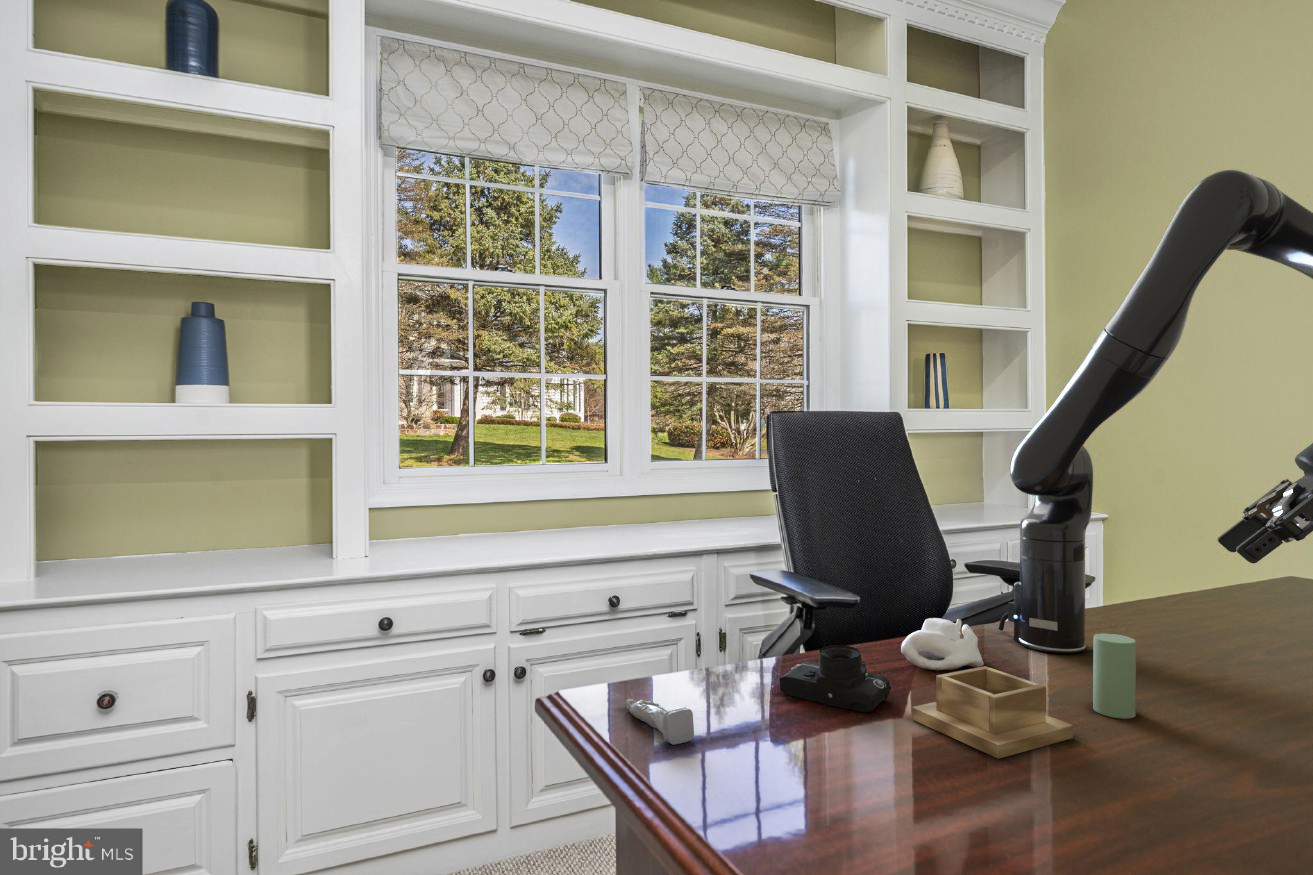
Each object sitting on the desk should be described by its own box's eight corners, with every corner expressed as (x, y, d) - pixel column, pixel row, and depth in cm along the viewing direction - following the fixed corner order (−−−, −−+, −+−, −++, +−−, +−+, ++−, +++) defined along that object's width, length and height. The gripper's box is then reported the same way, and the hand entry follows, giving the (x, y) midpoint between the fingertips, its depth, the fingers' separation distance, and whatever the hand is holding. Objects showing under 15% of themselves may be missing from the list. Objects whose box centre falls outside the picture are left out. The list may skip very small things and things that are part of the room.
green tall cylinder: (1085, 708, 92) (1085, 635, 92) (1107, 703, 94) (1107, 631, 94) (1120, 721, 88) (1121, 644, 88) (1143, 715, 90) (1144, 640, 90)
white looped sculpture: (899, 672, 106) (889, 615, 111) (948, 689, 113) (937, 635, 117) (953, 656, 101) (940, 597, 106) (1001, 675, 107) (987, 619, 112)
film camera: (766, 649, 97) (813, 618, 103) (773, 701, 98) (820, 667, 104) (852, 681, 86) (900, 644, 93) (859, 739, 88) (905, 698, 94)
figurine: (669, 747, 80) (666, 714, 80) (617, 722, 90) (614, 692, 91) (696, 738, 82) (693, 706, 82) (642, 715, 92) (639, 686, 92)
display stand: (911, 719, 88) (911, 672, 88) (982, 703, 93) (983, 659, 93) (998, 759, 77) (998, 706, 77) (1073, 738, 83) (1073, 689, 83)
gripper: (1309, 429, 88) (1191, 521, 93) (1359, 427, 75) (1219, 534, 80) (1368, 475, 86) (1244, 567, 91) (1430, 481, 73) (1282, 588, 78)
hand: (1233, 551), depth 85 cm, fingers open, 8 cm apart
